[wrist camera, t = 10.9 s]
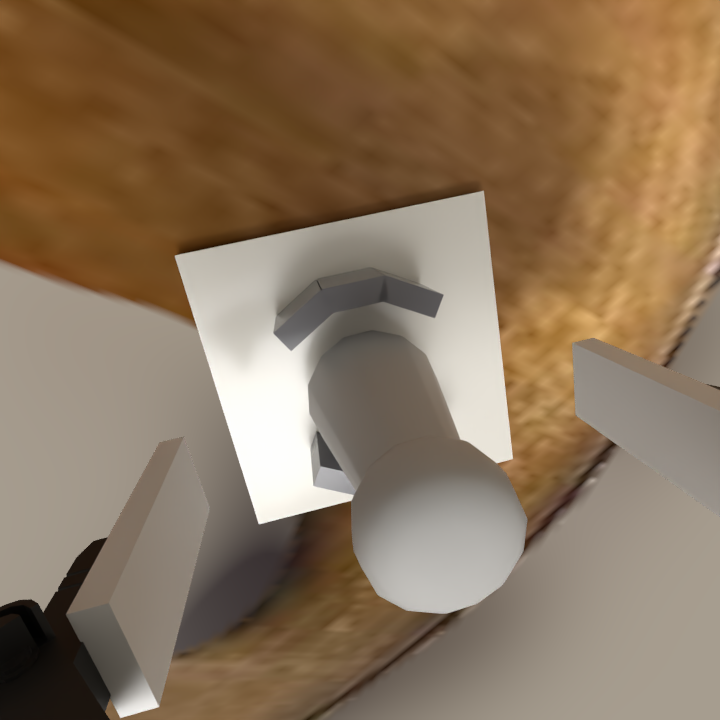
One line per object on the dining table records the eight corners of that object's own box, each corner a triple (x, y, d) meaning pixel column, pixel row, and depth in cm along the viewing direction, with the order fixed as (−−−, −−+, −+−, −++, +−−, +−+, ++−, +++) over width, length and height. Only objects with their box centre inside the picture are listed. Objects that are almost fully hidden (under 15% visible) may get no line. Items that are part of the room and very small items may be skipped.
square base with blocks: (259, 515, 25) (254, 572, 21) (178, 254, 21) (151, 262, 17) (506, 452, 26) (546, 494, 22) (477, 191, 22) (519, 184, 18)
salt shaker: (390, 448, 24) (494, 683, 12) (287, 408, 23) (283, 630, 10) (442, 347, 23) (617, 493, 11) (337, 300, 22) (399, 404, 9)
